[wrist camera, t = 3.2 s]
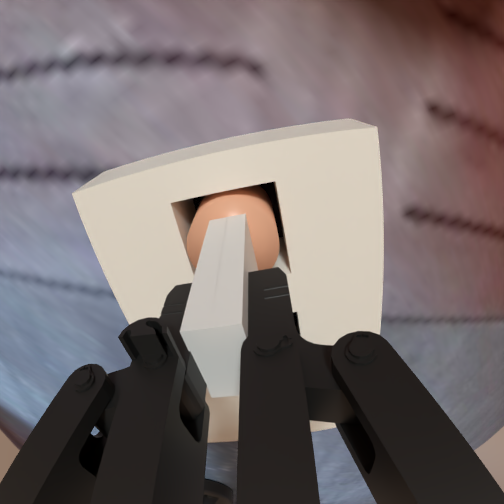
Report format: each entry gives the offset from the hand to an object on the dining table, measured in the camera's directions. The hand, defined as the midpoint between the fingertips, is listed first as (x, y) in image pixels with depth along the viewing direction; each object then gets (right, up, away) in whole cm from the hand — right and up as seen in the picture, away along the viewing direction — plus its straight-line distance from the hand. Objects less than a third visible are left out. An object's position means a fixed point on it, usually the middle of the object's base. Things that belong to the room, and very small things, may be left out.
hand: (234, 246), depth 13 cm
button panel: (+1, -4, +8) cm, 9 cm away
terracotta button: (0, +2, +4) cm, 4 cm away
